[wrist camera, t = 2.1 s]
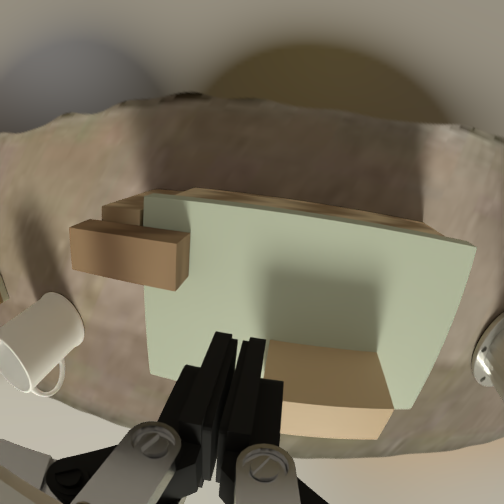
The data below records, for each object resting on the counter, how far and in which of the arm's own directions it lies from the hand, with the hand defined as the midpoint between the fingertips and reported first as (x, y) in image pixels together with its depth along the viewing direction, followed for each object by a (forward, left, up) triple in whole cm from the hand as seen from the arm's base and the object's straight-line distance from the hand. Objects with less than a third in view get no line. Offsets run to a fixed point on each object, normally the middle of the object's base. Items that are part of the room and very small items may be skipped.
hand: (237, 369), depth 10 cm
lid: (-3, +4, -12) cm, 13 cm away
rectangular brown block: (+9, 0, -10) cm, 14 cm away
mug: (+27, +18, -20) cm, 38 cm away
